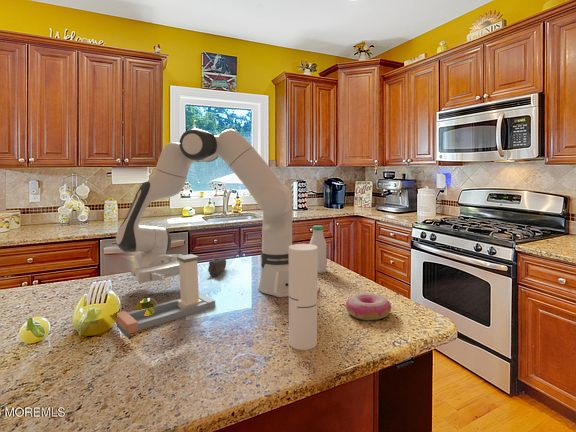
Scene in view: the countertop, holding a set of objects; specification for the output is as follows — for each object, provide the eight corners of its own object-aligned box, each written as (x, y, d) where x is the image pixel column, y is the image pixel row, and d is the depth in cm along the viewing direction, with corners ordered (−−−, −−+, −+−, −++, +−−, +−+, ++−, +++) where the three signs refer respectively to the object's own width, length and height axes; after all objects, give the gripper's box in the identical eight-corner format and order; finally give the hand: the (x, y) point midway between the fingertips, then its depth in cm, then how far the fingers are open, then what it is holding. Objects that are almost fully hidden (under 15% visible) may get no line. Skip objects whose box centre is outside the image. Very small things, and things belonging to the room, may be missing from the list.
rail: (199, 302, 114) (199, 290, 113) (215, 311, 106) (215, 299, 106) (116, 326, 96) (115, 313, 95) (128, 339, 89) (127, 324, 88)
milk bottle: (325, 273, 144) (326, 227, 142) (307, 272, 146) (307, 227, 143) (327, 268, 152) (327, 224, 149) (310, 267, 153) (310, 224, 151)
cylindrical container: (298, 333, 92) (298, 242, 88) (321, 340, 88) (322, 246, 84) (283, 344, 86) (282, 247, 82) (307, 352, 82) (307, 251, 78)
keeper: (193, 301, 109) (191, 253, 107) (202, 306, 105) (200, 256, 103) (177, 306, 106) (175, 256, 104) (185, 311, 102) (183, 259, 100)
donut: (388, 306, 110) (388, 291, 109) (393, 325, 97) (394, 308, 96) (345, 304, 112) (346, 289, 111) (345, 321, 99) (346, 305, 98)
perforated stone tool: (219, 268, 154) (219, 253, 153) (230, 268, 153) (230, 253, 152) (205, 278, 139) (204, 262, 138) (217, 279, 138) (216, 262, 137)
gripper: (128, 263, 114) (143, 272, 104) (185, 253, 127) (203, 259, 117) (129, 281, 114) (144, 292, 104) (186, 269, 128) (204, 277, 118)
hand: (176, 274), depth 111 cm, fingers open, 8 cm apart
